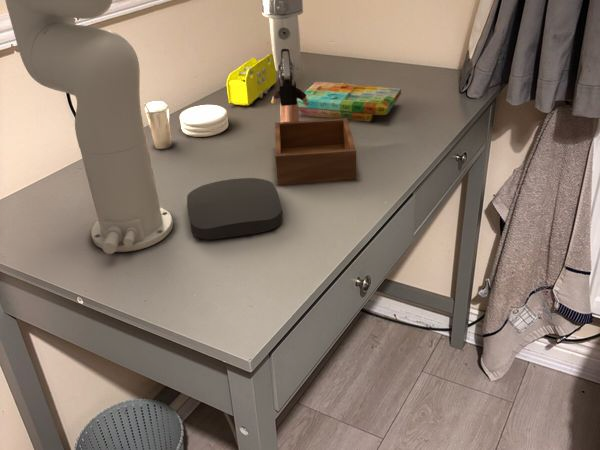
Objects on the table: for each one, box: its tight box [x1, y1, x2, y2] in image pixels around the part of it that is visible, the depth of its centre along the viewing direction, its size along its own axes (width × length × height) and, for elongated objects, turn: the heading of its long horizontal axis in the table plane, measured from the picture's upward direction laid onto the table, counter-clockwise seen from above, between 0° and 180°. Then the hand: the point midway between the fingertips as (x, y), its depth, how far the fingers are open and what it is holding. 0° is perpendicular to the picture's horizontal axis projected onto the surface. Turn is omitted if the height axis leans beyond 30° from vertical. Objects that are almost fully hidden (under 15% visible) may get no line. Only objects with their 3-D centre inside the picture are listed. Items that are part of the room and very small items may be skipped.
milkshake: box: [143, 100, 172, 150], centre depth 126 cm, size 4×5×10 cm
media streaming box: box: [186, 177, 284, 240], centre depth 103 cm, size 15×15×3 cm
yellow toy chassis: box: [225, 53, 277, 106], centre depth 148 cm, size 16×6×8 cm, turn 158°
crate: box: [274, 118, 357, 186], centre depth 116 cm, size 15×14×6 cm
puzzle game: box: [297, 81, 402, 122], centre depth 138 cm, size 12×5×20 cm
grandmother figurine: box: [270, 72, 309, 123], centre depth 125 cm, size 8×4×13 cm, turn 85°
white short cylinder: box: [179, 104, 229, 138], centre depth 134 cm, size 10×10×4 cm
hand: (288, 100), depth 125 cm, fingers closed on grandmother figurine, 3 cm apart
